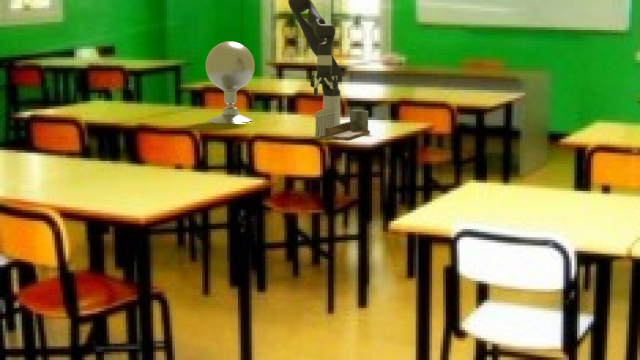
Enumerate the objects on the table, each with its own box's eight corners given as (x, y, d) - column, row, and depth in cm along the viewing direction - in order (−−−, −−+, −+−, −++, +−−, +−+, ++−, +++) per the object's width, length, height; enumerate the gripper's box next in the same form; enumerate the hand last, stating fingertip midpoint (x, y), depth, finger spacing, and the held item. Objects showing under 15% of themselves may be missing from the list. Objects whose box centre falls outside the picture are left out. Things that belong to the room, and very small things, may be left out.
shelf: (325, 138, 501) (325, 115, 499) (348, 132, 529) (348, 110, 527) (348, 140, 496) (348, 116, 494) (369, 133, 524) (370, 111, 523)
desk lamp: (203, 123, 564) (202, 42, 557) (209, 117, 592) (208, 40, 584) (252, 123, 564) (252, 42, 556) (256, 118, 591) (256, 40, 583)
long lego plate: (328, 132, 529) (329, 107, 527) (336, 132, 528) (337, 107, 525) (311, 137, 506) (311, 111, 504) (319, 138, 505) (319, 111, 503)
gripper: (308, 64, 510) (308, 96, 513) (334, 64, 505) (334, 97, 508) (314, 63, 517) (314, 94, 520) (340, 64, 512) (339, 96, 514)
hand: (324, 96), depth 514 cm, fingers open, 8 cm apart
